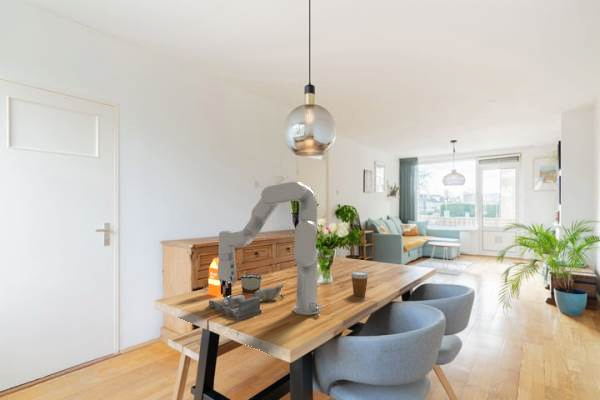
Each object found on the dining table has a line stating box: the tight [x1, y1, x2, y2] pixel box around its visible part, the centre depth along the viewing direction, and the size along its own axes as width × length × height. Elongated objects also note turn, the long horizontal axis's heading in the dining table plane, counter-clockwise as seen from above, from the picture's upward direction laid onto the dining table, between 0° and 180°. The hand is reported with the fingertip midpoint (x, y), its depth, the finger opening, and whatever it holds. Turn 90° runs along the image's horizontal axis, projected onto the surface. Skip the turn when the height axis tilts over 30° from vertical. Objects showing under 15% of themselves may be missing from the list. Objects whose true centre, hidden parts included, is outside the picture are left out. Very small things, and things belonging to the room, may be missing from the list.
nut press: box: [208, 295, 263, 321], centre depth 142 cm, size 25×12×8 cm, turn 47°
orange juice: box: [208, 256, 230, 298], centre depth 167 cm, size 8×9×20 cm
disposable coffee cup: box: [350, 270, 369, 297], centre depth 167 cm, size 10×10×12 cm
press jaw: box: [222, 285, 245, 308], centre depth 144 cm, size 10×9×8 cm
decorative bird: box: [252, 284, 285, 301], centre depth 156 cm, size 5×16×8 cm, turn 111°
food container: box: [239, 273, 263, 295], centre depth 170 cm, size 12×6×10 cm, turn 84°
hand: (226, 294), depth 147 cm, fingers closed on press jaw, 3 cm apart
